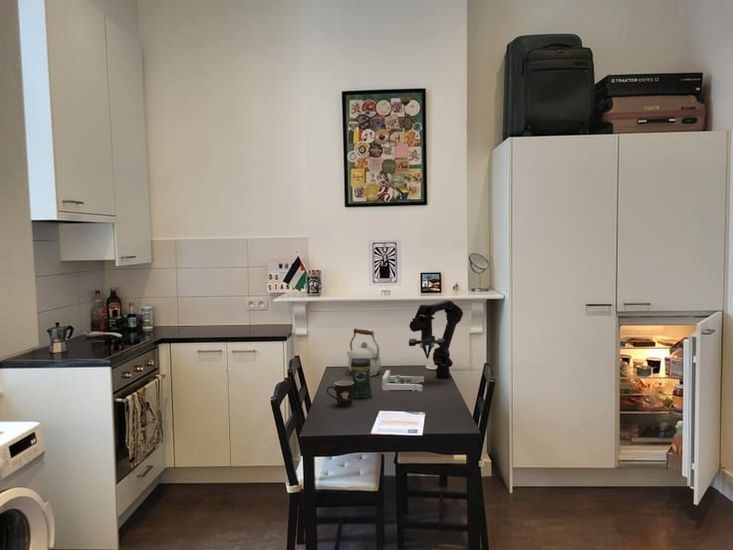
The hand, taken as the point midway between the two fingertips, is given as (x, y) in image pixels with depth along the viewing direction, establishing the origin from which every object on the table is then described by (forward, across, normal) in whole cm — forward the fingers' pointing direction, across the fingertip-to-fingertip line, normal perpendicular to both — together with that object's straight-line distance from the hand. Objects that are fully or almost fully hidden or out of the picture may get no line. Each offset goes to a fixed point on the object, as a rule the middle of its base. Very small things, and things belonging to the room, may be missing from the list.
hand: (427, 358), depth 278 cm
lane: (+12, -13, -9) cm, 20 cm away
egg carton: (+12, -11, -9) cm, 19 cm away
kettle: (+12, -37, +16) cm, 42 cm away
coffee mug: (+11, -38, -42) cm, 58 cm away
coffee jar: (+12, -31, -29) cm, 44 cm away
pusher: (+12, -16, -9) cm, 22 cm away
